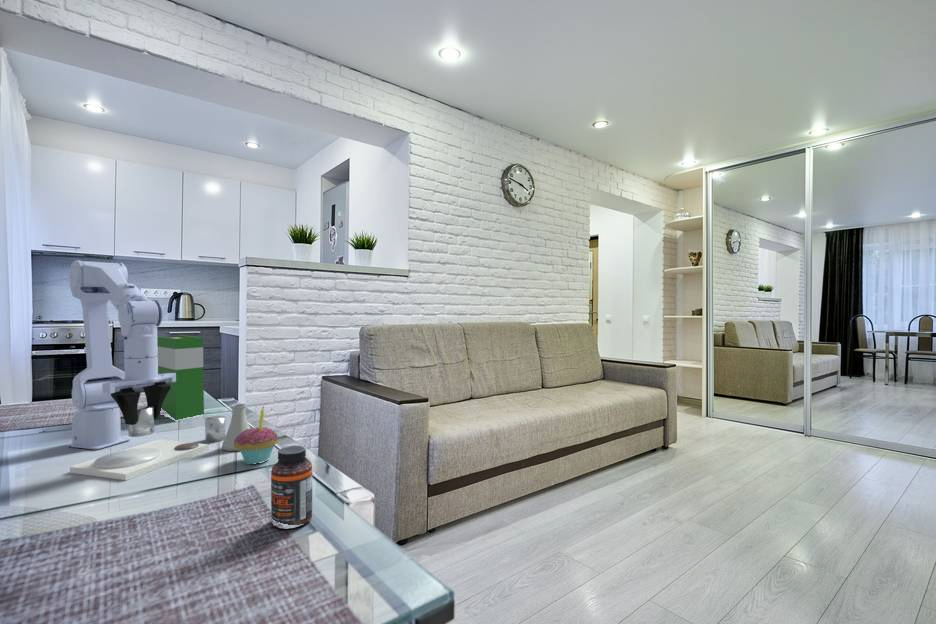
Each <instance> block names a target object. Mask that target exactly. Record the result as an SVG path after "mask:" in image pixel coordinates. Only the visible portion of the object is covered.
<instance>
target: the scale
mask: <svg viewBox="0 0 936 624" xmlns="http://www.w3.org/2000/svg"><path fill="white" fill-rule="evenodd" d="M208 450H209V443H199V442H188V441H187V442H186V441H180V440H179V441H178V440H170V439H169V440H168V439H160V438H159V439H155V440H152V441H148V442H146V443H143V444H139V445H136V446H132V447H129V448H126V449H123V450H119V451H115V452H112V453H108V454H105V455H103V456H100V457H97V458H94V459H90V460H87V461H84V462H81V463H77V464H74V465H71V466H69V473H71V474H77V475H83V476H84V475H85V476H92V477H97V478H98V477H99V478H106V479H112V480H120V481H128V480H131V479H135V478H136V477H140V476H141V475H144V474H147V473H149V472H152V471H156V470H157V469H160V468H162V467H166V466H168V465H171V464H174V463H176V462H178V461H181V460H184V459H187V458H189V457H192V456H195V455H197V454H200V453H204V452H205V451H208Z"/></svg>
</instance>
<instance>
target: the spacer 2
mask: <svg viewBox="0 0 936 624" xmlns="http://www.w3.org/2000/svg"><path fill="white" fill-rule="evenodd" d="M204 419H205V420H204V430H205V431H204V434H205V435H204V436H205V437H204V439H205V440H204V441H205V443H206V444H209V443H210V444H211V443H220V442H224V439H225V437H226V434H227V433H226V416H224V415H215V416H214V415H213V416H210V417H206V418H204Z"/></svg>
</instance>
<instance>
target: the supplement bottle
mask: <svg viewBox="0 0 936 624" xmlns="http://www.w3.org/2000/svg"><path fill="white" fill-rule="evenodd" d="M306 450H307V449H306V447H305V446H303V445H288V446H285V447H282V448H280V449H278V451H277V462H276V463H274V465H273V466H272V467H271V471H270V480H271V481H270V491H271V492H270V496H271V497H270V500H271V501H270V503H271V505H270V507H271V509H270V513H271V516H270V517H271V518H272V519H273V520H275V521H277V522H280V523H283V524H288V525H300V524H305V523H307V522H308V521H309V520H310V519H311V520H312V518H313V465H312V462H311V461H310V460H309V459H308V458H307V457H306V456H307V453H306V452H307V451H306ZM271 518H270V519H271ZM272 519H271V520H272ZM311 520H310V521H311ZM310 521H309V522H310ZM309 522H308V523H309ZM308 523H307V524H308ZM305 525H306V524H305Z"/></svg>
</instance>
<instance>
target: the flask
mask: <svg viewBox="0 0 936 624" xmlns="http://www.w3.org/2000/svg"><path fill="white" fill-rule="evenodd" d="M247 406H248V404H246V403H235V404H232V405H230V409H231V419H230V424H229V426H228V428H227V433H226V437H225V439H224V440H223V441H222V442H223V443H222V445H221V447H220V450H224V451H228V452H231V451H232V452H235V451H240V450H239V449H237V448H235V447H234V440H235V439H236V437H237V436H238V435H239V434H241V433H242V432H243V431H245V430H246V429H250V428H251V427H250V423H249V421H248V418H247V414H246V408H247Z"/></svg>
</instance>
